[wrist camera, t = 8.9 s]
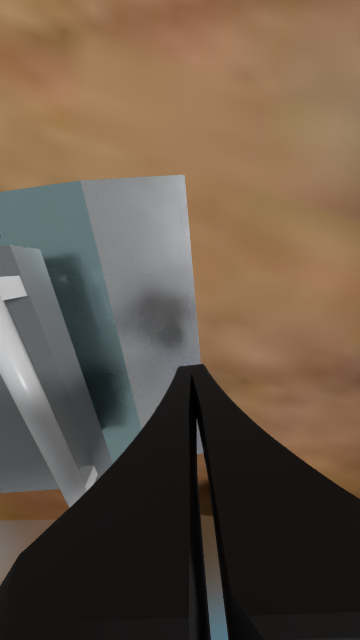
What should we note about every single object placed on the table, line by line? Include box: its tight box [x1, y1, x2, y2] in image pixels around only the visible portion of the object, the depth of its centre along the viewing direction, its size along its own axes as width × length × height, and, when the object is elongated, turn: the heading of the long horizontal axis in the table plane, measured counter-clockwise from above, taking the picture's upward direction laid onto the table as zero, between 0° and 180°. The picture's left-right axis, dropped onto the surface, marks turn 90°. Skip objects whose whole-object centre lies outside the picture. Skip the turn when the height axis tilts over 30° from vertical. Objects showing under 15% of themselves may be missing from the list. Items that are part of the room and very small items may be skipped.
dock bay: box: [0, 175, 203, 465], centre depth 11 cm, size 20×18×3 cm
